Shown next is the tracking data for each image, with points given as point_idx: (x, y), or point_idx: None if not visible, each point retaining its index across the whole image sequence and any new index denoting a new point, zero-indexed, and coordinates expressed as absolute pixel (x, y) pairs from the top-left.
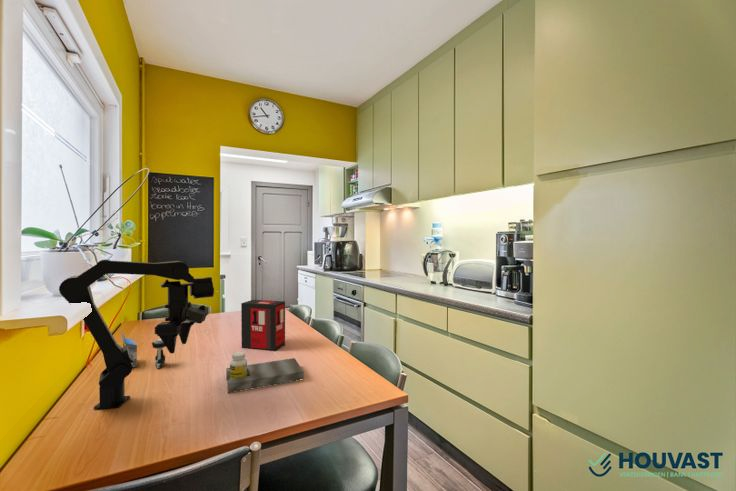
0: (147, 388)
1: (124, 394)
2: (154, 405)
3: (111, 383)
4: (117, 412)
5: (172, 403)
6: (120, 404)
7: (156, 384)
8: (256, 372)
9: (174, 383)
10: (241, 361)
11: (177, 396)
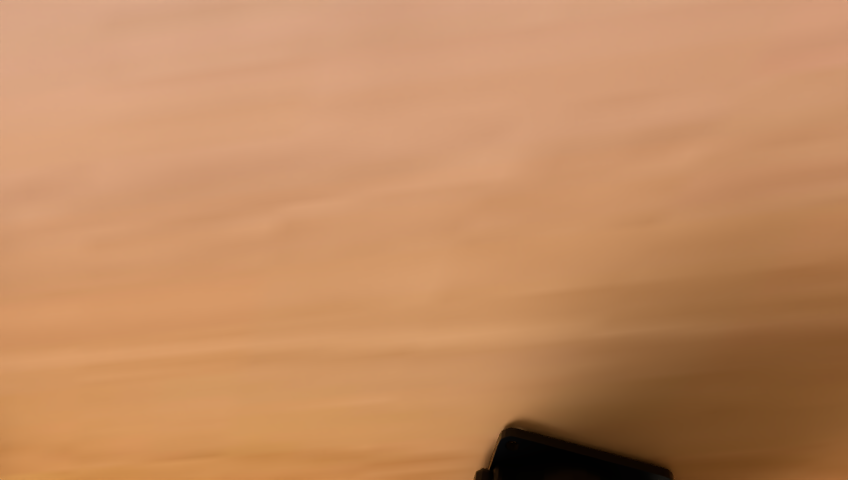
0: (350, 342)
1: (499, 476)
2: (778, 253)
3: None
4: (755, 461)
5: (836, 102)
6: (646, 469)
7: (278, 292)
8: None
9: (289, 152)
10: None
11: (661, 77)
